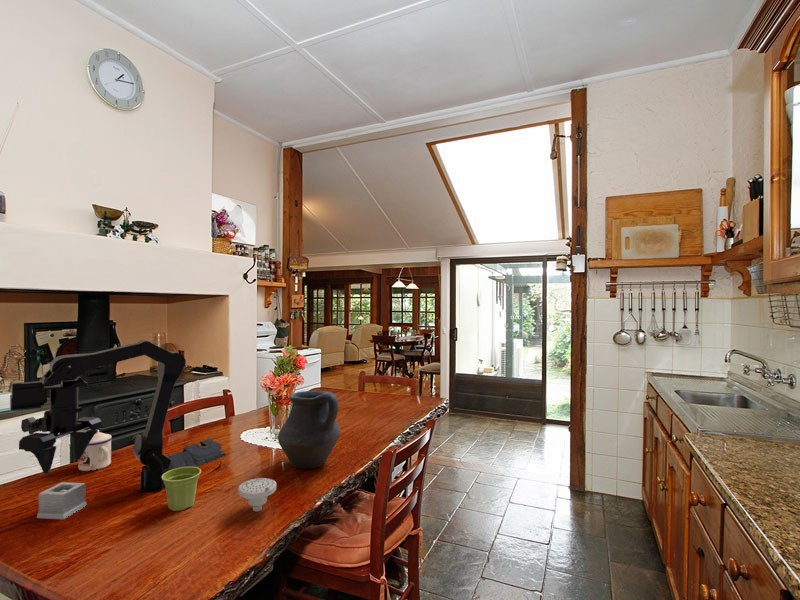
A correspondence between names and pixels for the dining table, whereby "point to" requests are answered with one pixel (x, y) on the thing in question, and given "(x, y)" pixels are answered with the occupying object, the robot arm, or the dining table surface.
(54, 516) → the shaft base
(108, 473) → the dining table surface
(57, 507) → the collar
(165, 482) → the plant pot
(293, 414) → the pitcher
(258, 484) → the showerhead
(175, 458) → the dark slate chunk
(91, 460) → the teacup with lid
